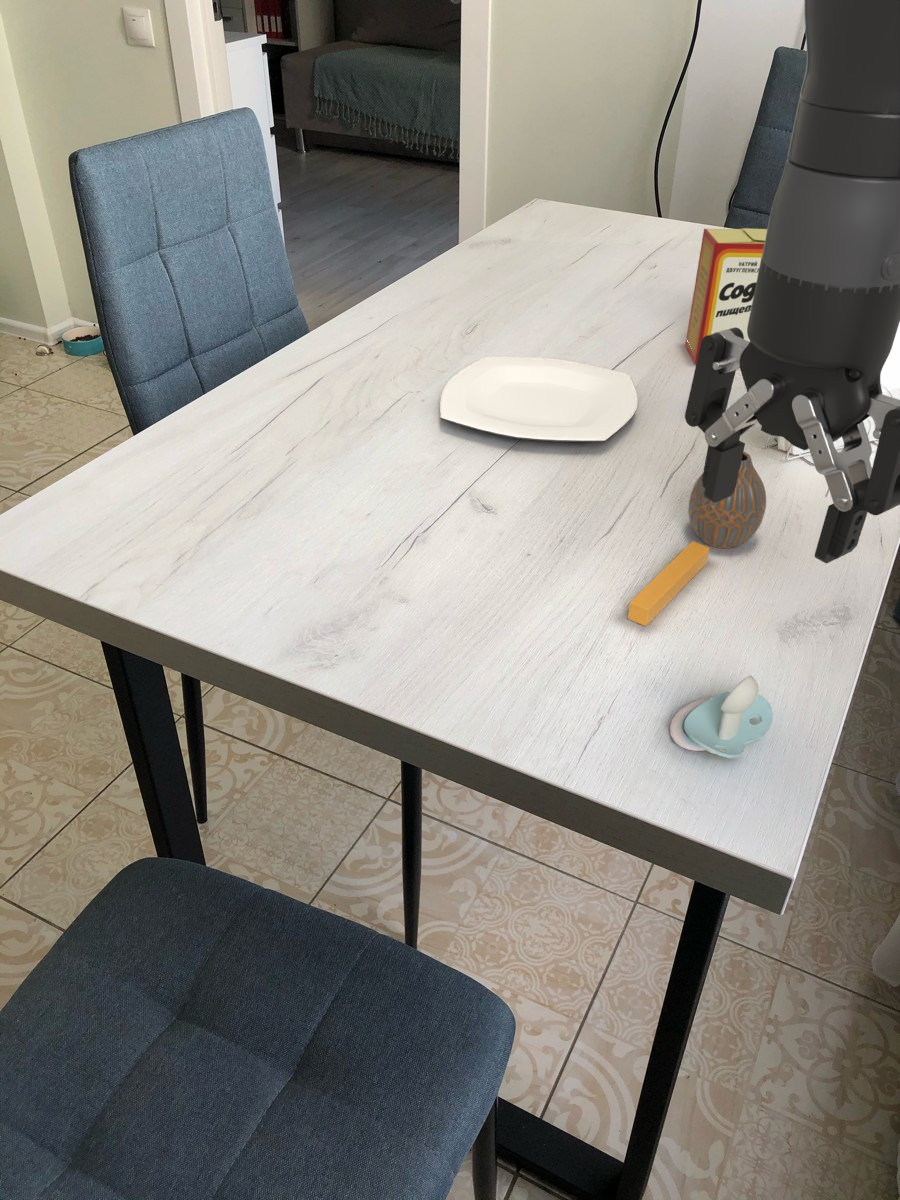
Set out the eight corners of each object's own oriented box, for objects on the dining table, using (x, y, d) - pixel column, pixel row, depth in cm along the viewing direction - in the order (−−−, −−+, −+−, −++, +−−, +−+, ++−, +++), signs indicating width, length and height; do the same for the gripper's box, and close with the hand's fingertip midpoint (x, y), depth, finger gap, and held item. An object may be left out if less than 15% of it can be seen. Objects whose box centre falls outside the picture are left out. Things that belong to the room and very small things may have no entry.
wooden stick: (688, 556, 87) (691, 540, 86) (706, 563, 86) (710, 547, 85) (626, 618, 79) (629, 601, 78) (645, 626, 79) (648, 609, 78)
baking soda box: (694, 364, 125) (715, 239, 115) (684, 346, 130) (704, 225, 120) (765, 365, 125) (792, 240, 115) (753, 346, 130) (778, 226, 120)
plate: (619, 467, 101) (621, 450, 100) (416, 437, 107) (416, 421, 105) (647, 384, 119) (649, 369, 118) (472, 362, 124) (472, 348, 123)
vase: (763, 528, 91) (782, 447, 86) (749, 564, 86) (769, 480, 81) (692, 512, 94) (707, 432, 88) (675, 546, 89) (690, 463, 83)
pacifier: (650, 738, 68) (720, 782, 64) (660, 671, 65) (735, 714, 61) (709, 693, 72) (778, 732, 69) (721, 628, 69) (795, 665, 65)
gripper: (1010, 282, 46) (909, 559, 55) (774, 217, 55) (723, 464, 64) (920, 311, 42) (830, 602, 52) (684, 237, 51) (645, 495, 61)
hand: (771, 525), depth 58 cm, fingers open, 8 cm apart
